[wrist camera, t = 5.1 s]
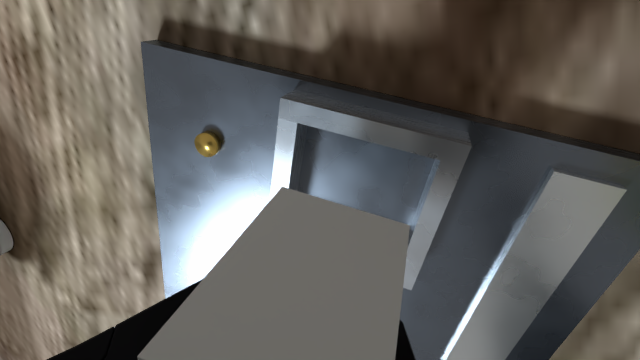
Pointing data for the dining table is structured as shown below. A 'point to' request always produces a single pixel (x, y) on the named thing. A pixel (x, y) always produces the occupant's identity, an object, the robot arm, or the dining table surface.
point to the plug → (296, 289)
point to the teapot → (5, 238)
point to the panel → (395, 196)
